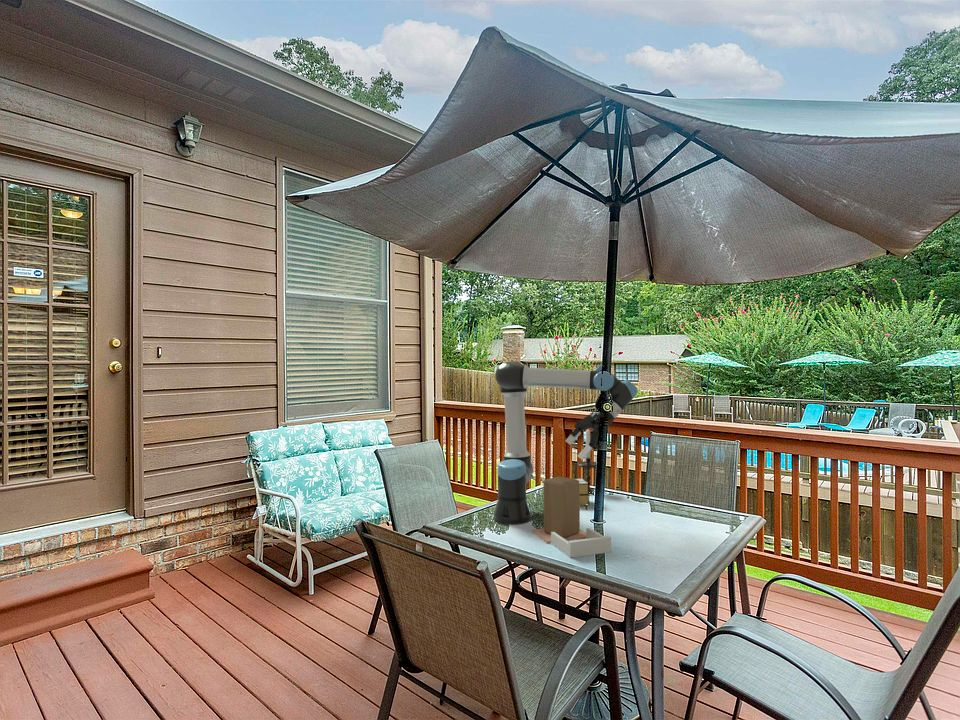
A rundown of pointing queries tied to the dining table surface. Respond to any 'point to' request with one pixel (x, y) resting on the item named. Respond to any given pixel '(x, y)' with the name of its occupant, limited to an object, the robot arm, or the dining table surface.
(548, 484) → the wooden block
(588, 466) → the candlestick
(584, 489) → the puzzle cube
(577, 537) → the terracotta mat
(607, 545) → the lane rack
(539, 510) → the dining table surface
